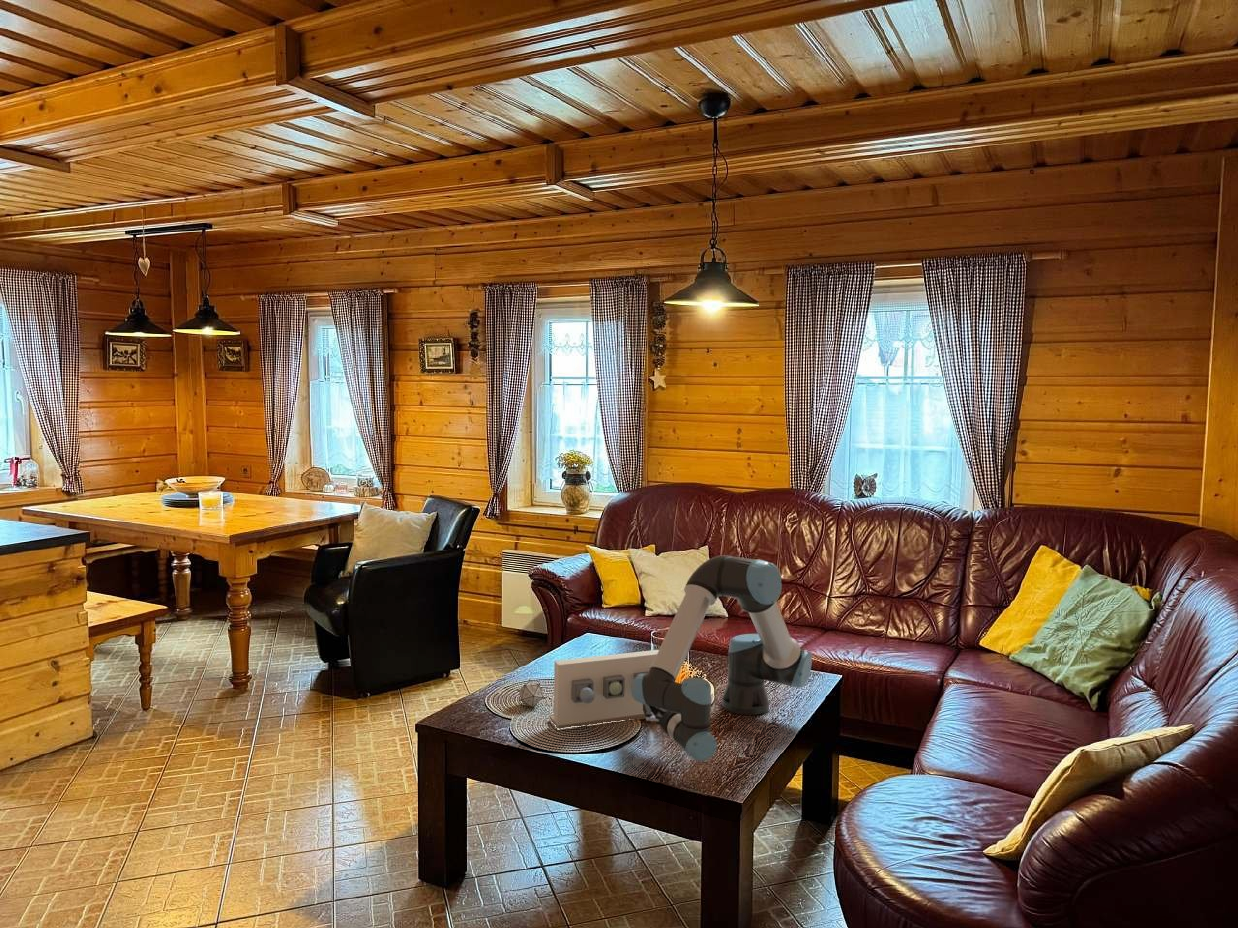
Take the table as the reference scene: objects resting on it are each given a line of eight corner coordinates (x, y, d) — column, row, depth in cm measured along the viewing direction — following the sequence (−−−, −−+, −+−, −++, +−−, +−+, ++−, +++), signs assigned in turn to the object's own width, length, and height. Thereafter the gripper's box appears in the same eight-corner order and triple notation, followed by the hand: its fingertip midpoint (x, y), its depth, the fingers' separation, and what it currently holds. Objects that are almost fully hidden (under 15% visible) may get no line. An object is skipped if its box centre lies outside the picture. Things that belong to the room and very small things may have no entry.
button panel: (549, 720, 255) (550, 656, 253) (651, 706, 267) (652, 645, 266) (560, 734, 244) (561, 668, 243) (665, 719, 257) (667, 656, 255)
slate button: (579, 701, 244) (579, 688, 244) (592, 699, 245) (592, 686, 245) (581, 703, 242) (581, 690, 242) (594, 702, 244) (594, 688, 243)
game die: (537, 717, 267) (555, 694, 264) (518, 714, 260) (536, 691, 258) (525, 696, 273) (543, 674, 270) (506, 693, 266) (525, 670, 264)
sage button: (607, 693, 251) (607, 680, 250) (619, 691, 252) (619, 679, 252) (609, 695, 249) (609, 682, 249) (621, 694, 250) (622, 681, 250)
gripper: (656, 742, 222) (623, 710, 244) (700, 736, 227) (664, 704, 249) (657, 715, 221) (623, 685, 243) (701, 709, 226) (664, 680, 248)
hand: (644, 695), depth 246 cm, fingers closed
